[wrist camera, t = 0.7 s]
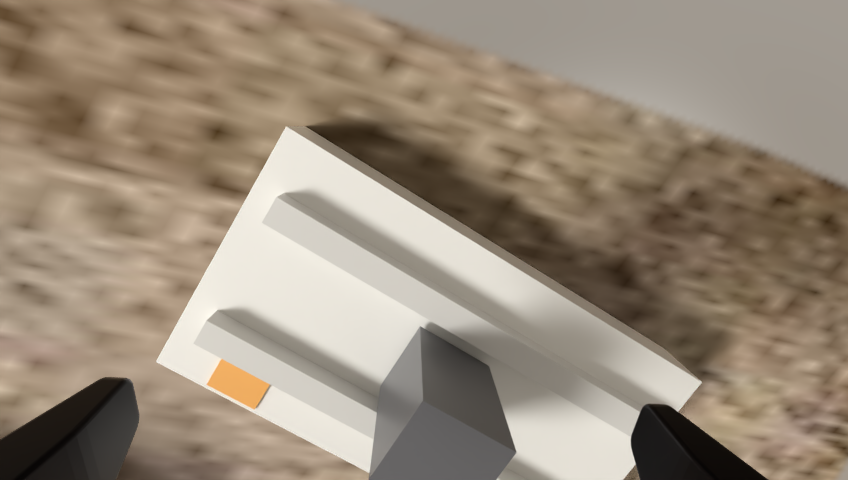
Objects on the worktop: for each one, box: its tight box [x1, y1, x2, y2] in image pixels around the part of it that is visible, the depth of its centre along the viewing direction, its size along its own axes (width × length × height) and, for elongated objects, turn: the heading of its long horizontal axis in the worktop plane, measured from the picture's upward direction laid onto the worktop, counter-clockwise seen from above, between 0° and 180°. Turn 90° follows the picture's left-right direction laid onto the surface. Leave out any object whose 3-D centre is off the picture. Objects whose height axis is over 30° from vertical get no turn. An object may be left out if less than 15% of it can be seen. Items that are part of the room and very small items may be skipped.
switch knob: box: [369, 326, 517, 480], centre depth 16 cm, size 3×3×5 cm
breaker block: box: [156, 126, 702, 480], centre depth 20 cm, size 18×10×4 cm, turn 58°
